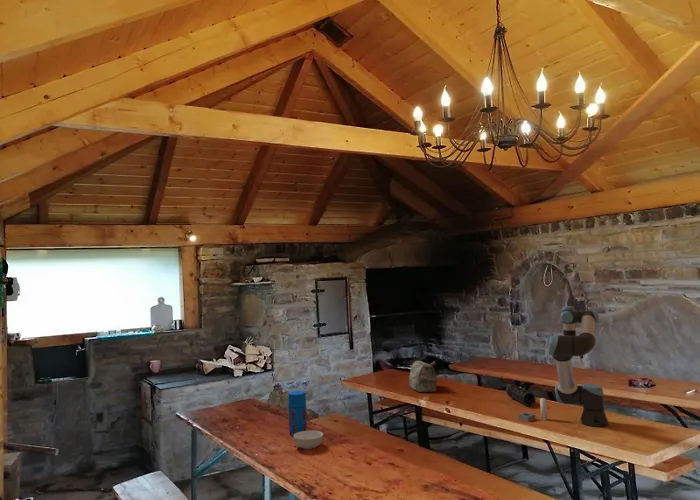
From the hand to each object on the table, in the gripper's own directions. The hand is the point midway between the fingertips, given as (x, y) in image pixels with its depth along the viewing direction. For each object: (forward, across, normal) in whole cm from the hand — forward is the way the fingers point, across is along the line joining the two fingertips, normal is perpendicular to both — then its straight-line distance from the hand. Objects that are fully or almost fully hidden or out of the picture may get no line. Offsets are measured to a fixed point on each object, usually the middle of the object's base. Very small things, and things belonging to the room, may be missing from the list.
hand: (571, 361), depth 339 cm
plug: (+32, -2, -29) cm, 44 cm away
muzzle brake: (+33, -38, -6) cm, 51 cm away
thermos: (+32, -82, -162) cm, 184 cm away
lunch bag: (+33, -114, -29) cm, 123 cm away
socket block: (+32, -10, -36) cm, 50 cm away
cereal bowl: (+32, -57, -169) cm, 181 cm away
